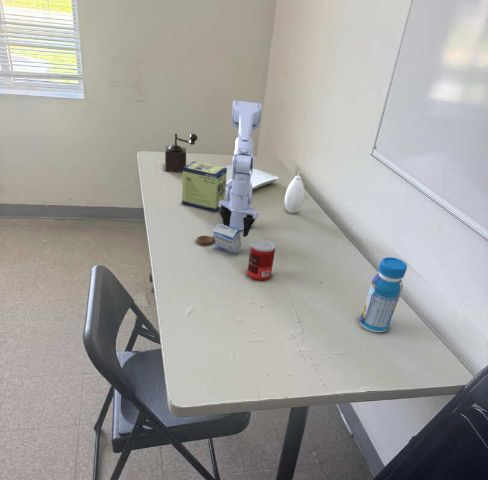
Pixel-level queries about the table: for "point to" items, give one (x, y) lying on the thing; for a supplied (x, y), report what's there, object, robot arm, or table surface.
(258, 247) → the canned food
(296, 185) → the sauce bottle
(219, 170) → the protein box
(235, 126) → the robot arm
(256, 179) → the square plate
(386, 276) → the beverage bottle
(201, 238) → the wooden spoon
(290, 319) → the table surface
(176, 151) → the manual coffee grinder
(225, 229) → the medicine box
